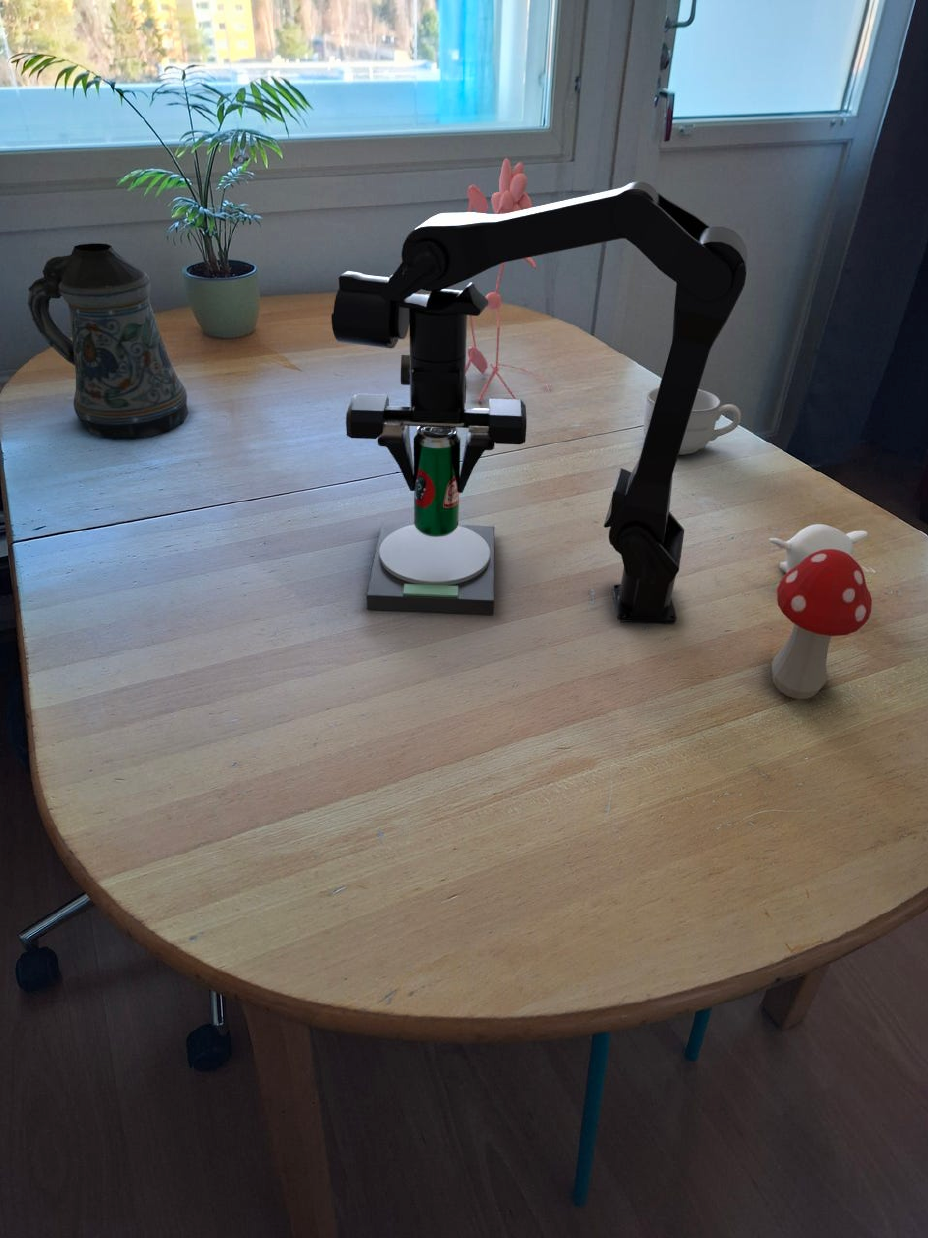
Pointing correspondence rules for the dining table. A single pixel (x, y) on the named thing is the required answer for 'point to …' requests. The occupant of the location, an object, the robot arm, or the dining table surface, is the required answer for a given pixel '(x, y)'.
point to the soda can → (436, 480)
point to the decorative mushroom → (818, 617)
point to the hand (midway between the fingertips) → (436, 490)
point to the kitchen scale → (433, 570)
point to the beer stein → (110, 344)
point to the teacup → (698, 420)
